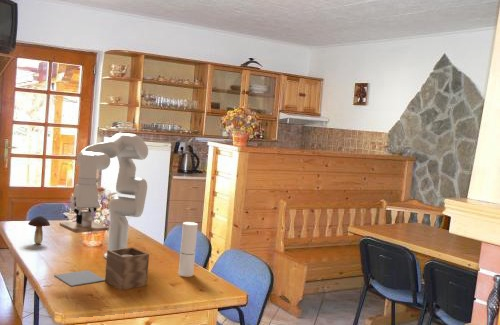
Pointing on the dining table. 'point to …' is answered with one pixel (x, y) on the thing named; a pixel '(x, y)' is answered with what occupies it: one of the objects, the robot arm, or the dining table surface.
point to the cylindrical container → (188, 249)
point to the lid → (84, 224)
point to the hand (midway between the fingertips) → (83, 222)
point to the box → (126, 268)
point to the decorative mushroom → (39, 228)
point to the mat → (79, 278)
